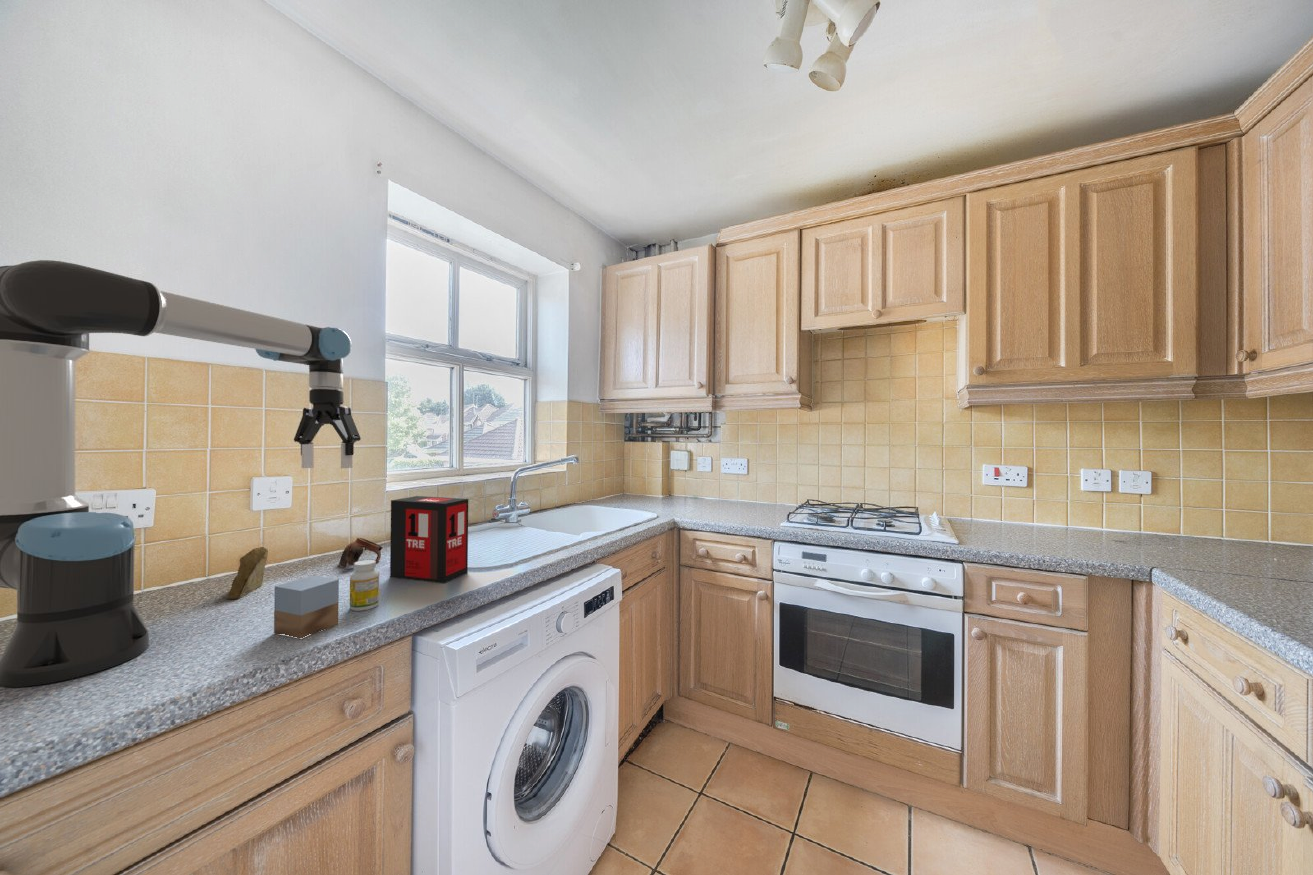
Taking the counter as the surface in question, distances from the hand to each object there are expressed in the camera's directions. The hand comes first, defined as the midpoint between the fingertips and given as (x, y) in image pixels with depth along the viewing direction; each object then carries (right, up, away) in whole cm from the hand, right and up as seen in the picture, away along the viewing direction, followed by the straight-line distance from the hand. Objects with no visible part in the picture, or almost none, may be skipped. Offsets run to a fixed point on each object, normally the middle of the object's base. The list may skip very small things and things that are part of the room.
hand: (326, 468), depth 124 cm
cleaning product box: (+29, -28, -3) cm, 41 cm away
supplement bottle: (+26, -28, -25) cm, 46 cm away
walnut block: (+22, -28, -36) cm, 51 cm away
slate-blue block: (+22, -24, -36) cm, 49 cm away
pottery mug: (+5, -28, +6) cm, 29 cm away
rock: (-7, -28, -17) cm, 34 cm away
